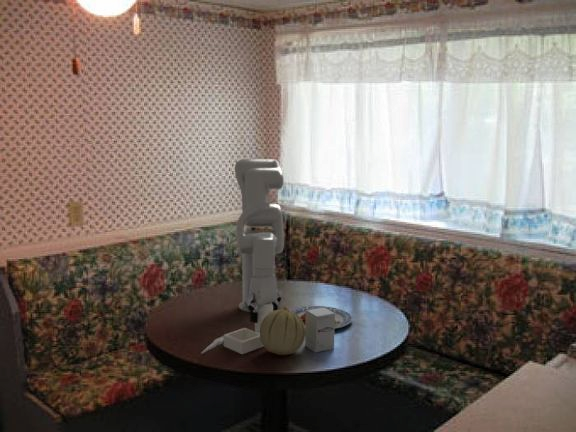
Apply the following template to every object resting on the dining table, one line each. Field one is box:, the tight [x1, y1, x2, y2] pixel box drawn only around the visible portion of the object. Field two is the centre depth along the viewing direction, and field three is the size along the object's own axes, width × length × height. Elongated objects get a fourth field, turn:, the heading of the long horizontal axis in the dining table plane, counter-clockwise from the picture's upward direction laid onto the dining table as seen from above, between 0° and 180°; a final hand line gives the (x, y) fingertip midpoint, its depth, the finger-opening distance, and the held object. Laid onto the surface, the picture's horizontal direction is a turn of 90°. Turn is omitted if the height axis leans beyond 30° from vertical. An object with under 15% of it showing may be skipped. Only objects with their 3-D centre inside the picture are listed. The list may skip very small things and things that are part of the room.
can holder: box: [222, 327, 264, 355], centre depth 194 cm, size 10×10×4 cm
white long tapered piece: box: [200, 335, 224, 354], centre depth 194 cm, size 15×3×2 cm, turn 152°
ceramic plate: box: [289, 305, 353, 330], centre depth 217 cm, size 26×26×3 cm
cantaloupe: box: [260, 306, 305, 356], centre depth 187 cm, size 15×15×15 cm
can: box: [254, 302, 273, 333], centre depth 204 cm, size 6×6×12 cm
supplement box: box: [304, 308, 335, 354], centre depth 192 cm, size 7×7×13 cm
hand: (264, 319), depth 203 cm, fingers open, 9 cm apart
